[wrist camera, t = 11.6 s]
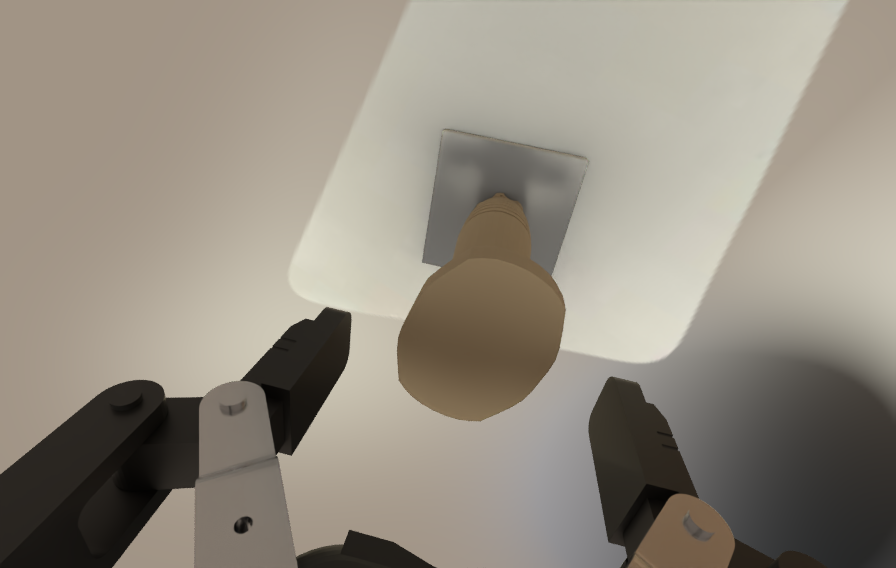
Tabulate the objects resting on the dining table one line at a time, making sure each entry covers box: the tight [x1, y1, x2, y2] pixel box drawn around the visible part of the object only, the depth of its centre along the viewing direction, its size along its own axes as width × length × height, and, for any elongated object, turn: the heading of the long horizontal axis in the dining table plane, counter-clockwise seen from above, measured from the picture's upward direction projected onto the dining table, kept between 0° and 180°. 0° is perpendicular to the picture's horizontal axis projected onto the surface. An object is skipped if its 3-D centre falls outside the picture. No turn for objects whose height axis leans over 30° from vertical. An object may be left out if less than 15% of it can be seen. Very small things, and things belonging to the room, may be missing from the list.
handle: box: [397, 193, 566, 421], centre depth 20 cm, size 5×6×15 cm
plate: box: [422, 129, 589, 276], centre depth 27 cm, size 9×9×1 cm
